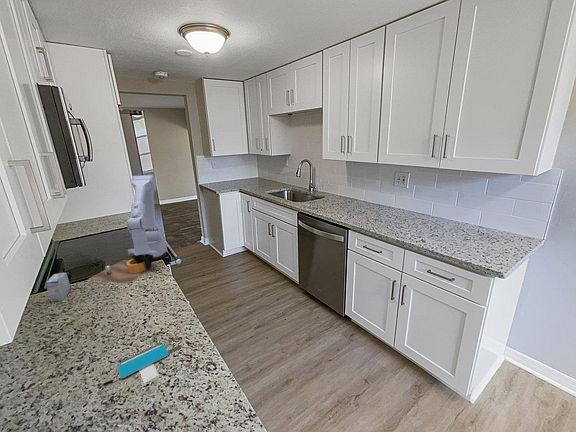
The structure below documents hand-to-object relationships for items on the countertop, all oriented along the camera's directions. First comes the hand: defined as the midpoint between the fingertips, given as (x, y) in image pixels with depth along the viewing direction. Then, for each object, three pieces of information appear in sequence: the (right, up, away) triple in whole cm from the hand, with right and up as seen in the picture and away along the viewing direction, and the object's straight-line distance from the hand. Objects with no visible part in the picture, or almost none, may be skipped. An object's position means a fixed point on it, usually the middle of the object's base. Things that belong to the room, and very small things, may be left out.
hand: (145, 268), depth 127 cm
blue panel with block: (+29, -18, -53) cm, 63 cm away
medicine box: (-26, -8, -17) cm, 32 cm away
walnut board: (-9, -2, 0) cm, 10 cm away
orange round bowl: (-4, 0, +1) cm, 4 cm away
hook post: (-15, -2, -3) cm, 16 cm away
